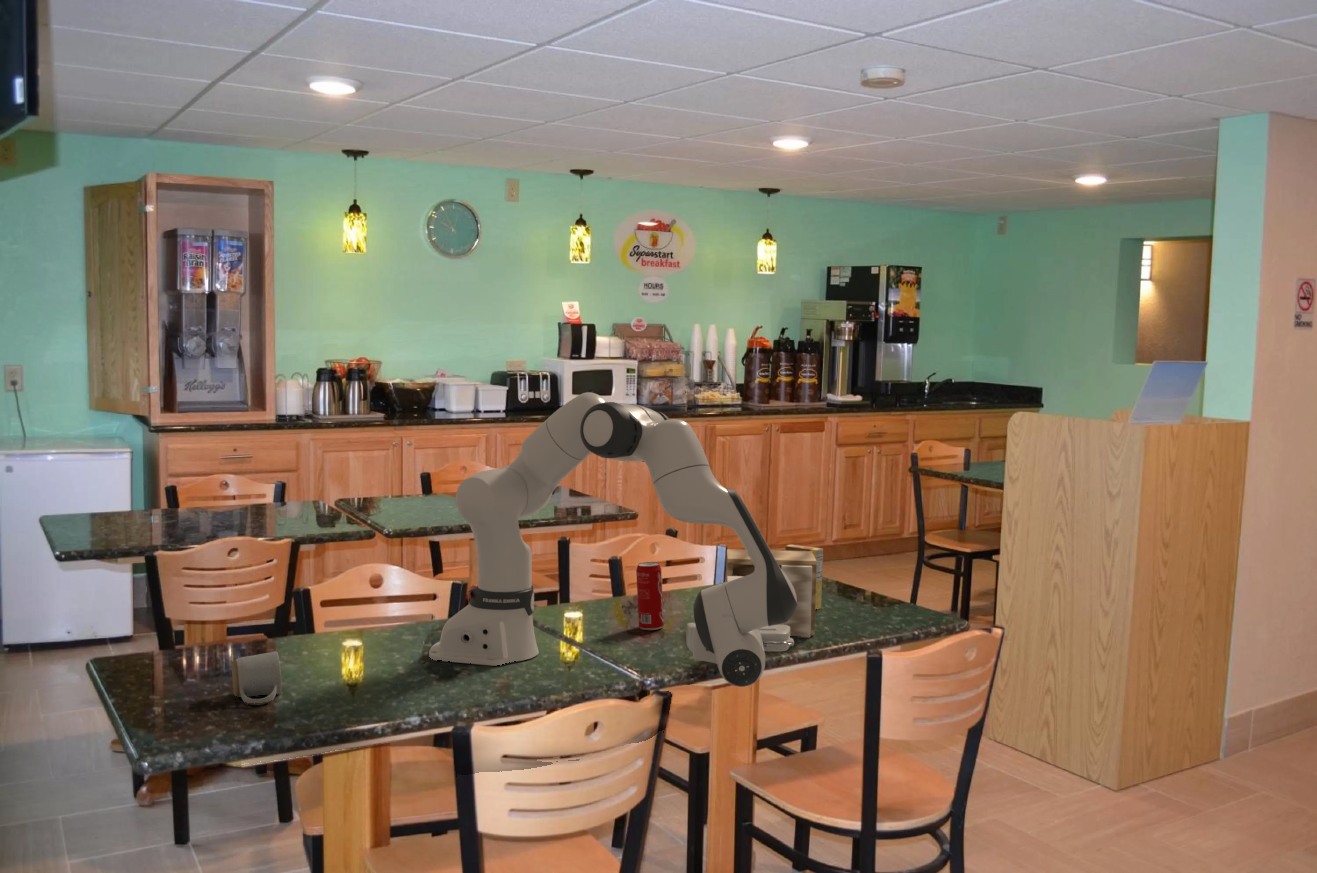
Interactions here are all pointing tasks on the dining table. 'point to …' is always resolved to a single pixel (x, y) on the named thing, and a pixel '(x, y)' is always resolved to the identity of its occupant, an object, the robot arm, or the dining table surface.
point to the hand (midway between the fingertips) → (737, 626)
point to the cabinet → (800, 575)
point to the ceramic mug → (257, 677)
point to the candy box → (819, 558)
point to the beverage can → (650, 596)
